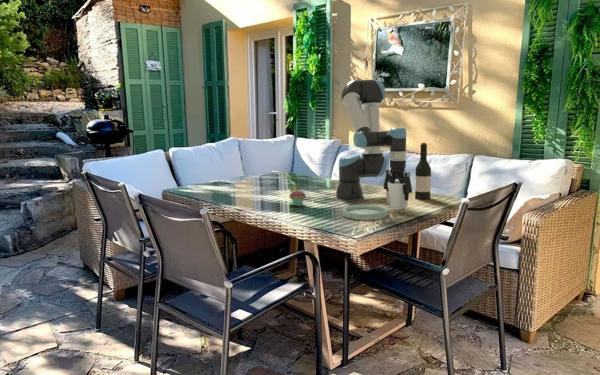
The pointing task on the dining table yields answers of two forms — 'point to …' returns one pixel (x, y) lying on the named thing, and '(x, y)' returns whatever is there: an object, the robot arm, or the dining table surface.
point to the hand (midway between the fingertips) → (397, 205)
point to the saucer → (365, 212)
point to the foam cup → (396, 195)
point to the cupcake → (297, 197)
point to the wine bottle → (423, 176)
